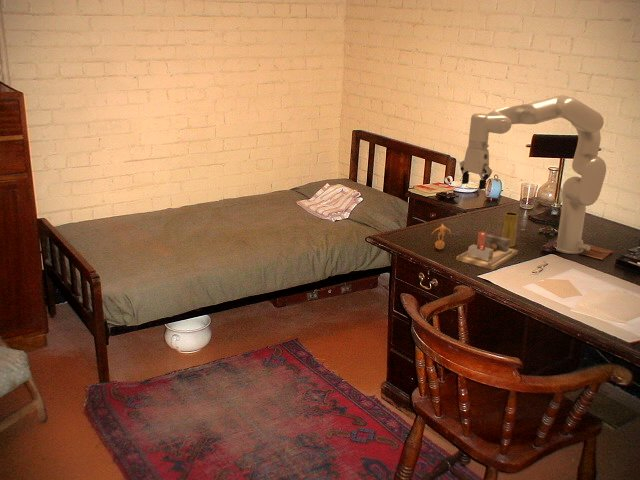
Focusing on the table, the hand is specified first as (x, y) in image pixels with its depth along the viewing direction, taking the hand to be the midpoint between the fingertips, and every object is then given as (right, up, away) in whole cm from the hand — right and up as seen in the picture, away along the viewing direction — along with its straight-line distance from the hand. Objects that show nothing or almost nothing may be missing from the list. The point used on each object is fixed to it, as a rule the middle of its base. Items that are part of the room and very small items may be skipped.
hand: (473, 186), depth 269 cm
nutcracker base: (+7, -29, +4) cm, 30 cm away
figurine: (-12, -26, +11) cm, 31 cm away
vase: (+19, -24, +19) cm, 36 cm away
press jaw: (+2, -29, -2) cm, 29 cm away
